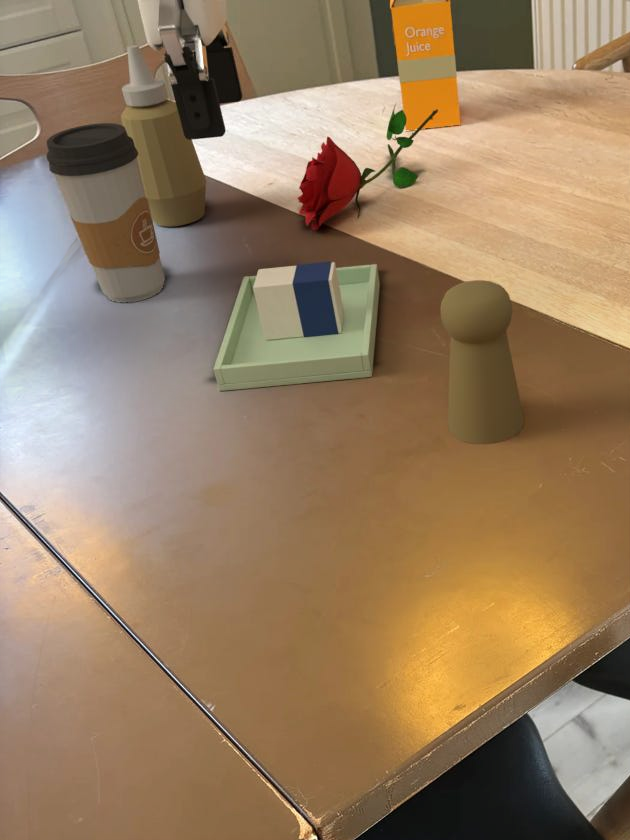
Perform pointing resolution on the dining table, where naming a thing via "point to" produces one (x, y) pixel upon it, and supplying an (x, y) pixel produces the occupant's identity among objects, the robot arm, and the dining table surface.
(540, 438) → the dining table surface
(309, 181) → the flower
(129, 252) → the coffee cup
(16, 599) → the dining table surface
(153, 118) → the squeeze bottle
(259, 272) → the eraser
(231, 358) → the tray
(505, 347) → the olive brown pawn figure
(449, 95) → the orange juice
